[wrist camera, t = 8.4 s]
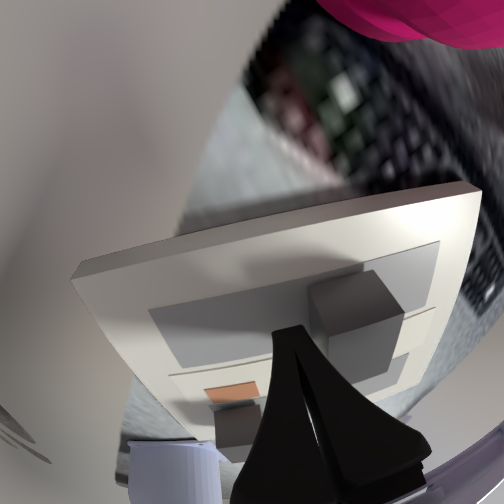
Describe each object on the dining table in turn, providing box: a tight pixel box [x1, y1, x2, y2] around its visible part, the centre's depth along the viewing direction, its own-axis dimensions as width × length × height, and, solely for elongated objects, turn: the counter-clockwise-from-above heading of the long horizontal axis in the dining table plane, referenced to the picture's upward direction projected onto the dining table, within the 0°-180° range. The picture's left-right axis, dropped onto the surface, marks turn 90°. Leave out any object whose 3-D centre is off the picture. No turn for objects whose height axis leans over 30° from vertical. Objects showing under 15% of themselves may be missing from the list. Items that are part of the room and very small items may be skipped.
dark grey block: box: [214, 404, 263, 463], centre depth 16 cm, size 3×4×3 cm
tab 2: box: [307, 269, 405, 385], centre depth 11 cm, size 3×4×3 cm
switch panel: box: [70, 181, 482, 441], centre depth 15 cm, size 20×18×2 cm
